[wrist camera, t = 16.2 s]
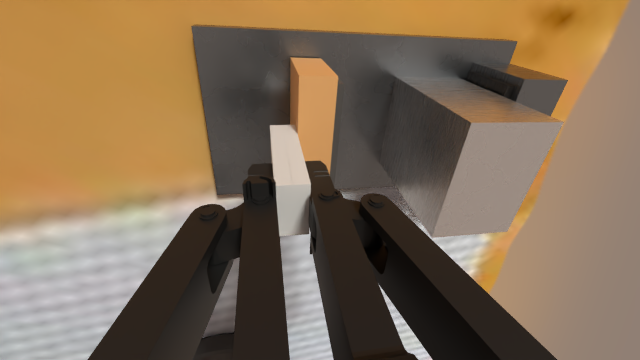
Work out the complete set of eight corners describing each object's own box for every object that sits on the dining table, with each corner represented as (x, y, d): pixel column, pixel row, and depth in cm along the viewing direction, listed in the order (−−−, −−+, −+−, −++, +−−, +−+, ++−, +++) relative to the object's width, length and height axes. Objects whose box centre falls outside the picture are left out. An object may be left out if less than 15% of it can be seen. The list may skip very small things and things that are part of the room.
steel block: (434, 161, 25) (507, 231, 18) (379, 163, 25) (431, 237, 17) (459, 77, 22) (563, 122, 14) (395, 76, 21) (471, 122, 13)
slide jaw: (320, 176, 24) (333, 215, 20) (289, 177, 23) (296, 217, 19) (328, 58, 19) (347, 76, 15) (290, 57, 19) (299, 75, 15)
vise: (458, 177, 28) (501, 217, 23) (218, 187, 24) (208, 238, 19) (507, 39, 22) (581, 53, 17) (194, 24, 18) (169, 36, 13)
